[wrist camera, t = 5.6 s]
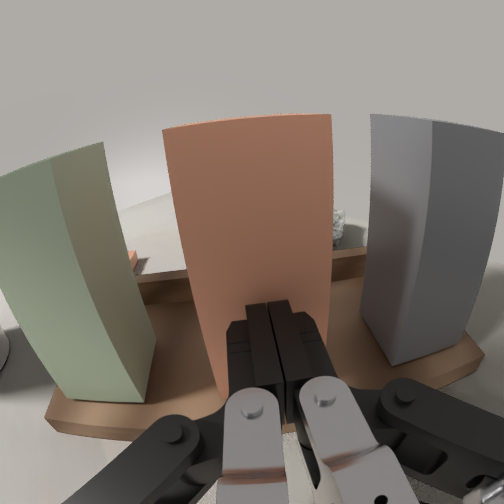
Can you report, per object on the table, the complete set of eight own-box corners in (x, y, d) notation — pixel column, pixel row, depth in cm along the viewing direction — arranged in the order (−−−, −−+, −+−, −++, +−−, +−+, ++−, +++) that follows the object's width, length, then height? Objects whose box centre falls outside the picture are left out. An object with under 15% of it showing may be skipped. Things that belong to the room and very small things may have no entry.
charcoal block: (391, 366, 14) (432, 120, 8) (359, 311, 18) (370, 113, 13) (458, 342, 14) (506, 134, 8) (420, 297, 18) (442, 120, 13)
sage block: (67, 398, 13) (-33, 192, 7) (90, 341, 17) (27, 165, 12) (144, 402, 13) (49, 158, 8) (156, 338, 17) (103, 141, 12)
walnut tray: (57, 431, 12) (25, 396, 11) (103, 315, 23) (89, 280, 21) (476, 370, 13) (497, 329, 12) (398, 276, 24) (403, 241, 22)
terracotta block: (220, 399, 13) (162, 129, 8) (218, 333, 18) (183, 124, 12) (321, 384, 13) (331, 114, 8) (299, 322, 18) (293, 113, 12)
